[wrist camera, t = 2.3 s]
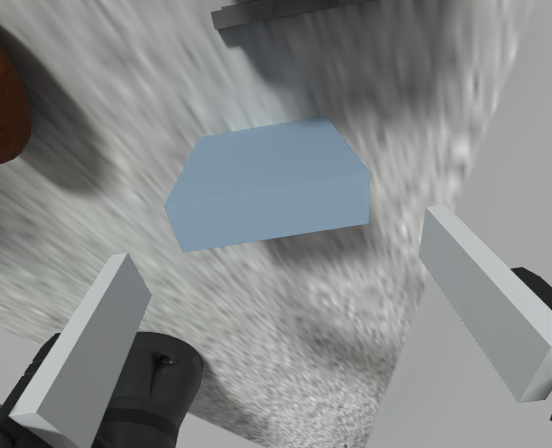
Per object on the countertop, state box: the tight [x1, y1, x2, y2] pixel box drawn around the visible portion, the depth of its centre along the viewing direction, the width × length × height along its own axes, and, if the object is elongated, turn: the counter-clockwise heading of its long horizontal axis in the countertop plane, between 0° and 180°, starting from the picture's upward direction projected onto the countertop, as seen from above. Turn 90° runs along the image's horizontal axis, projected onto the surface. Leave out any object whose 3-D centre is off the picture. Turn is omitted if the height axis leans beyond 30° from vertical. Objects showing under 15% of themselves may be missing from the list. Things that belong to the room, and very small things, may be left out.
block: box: [164, 116, 370, 253], centre depth 22 cm, size 4×11×12 cm, turn 99°
